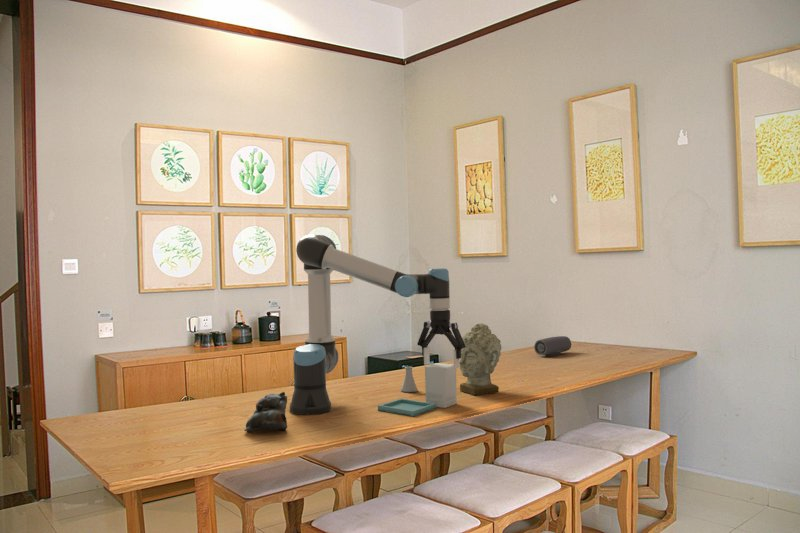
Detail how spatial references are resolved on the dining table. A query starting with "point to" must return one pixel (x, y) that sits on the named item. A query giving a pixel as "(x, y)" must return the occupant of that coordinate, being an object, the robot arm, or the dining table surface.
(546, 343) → the bluetooth speaker
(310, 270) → the robot arm
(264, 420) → the lucky cat figurine
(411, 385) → the flask
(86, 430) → the dining table surface
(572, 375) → the dining table surface
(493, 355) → the buddha head
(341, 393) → the dining table surface
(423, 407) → the tray
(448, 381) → the supplement box
